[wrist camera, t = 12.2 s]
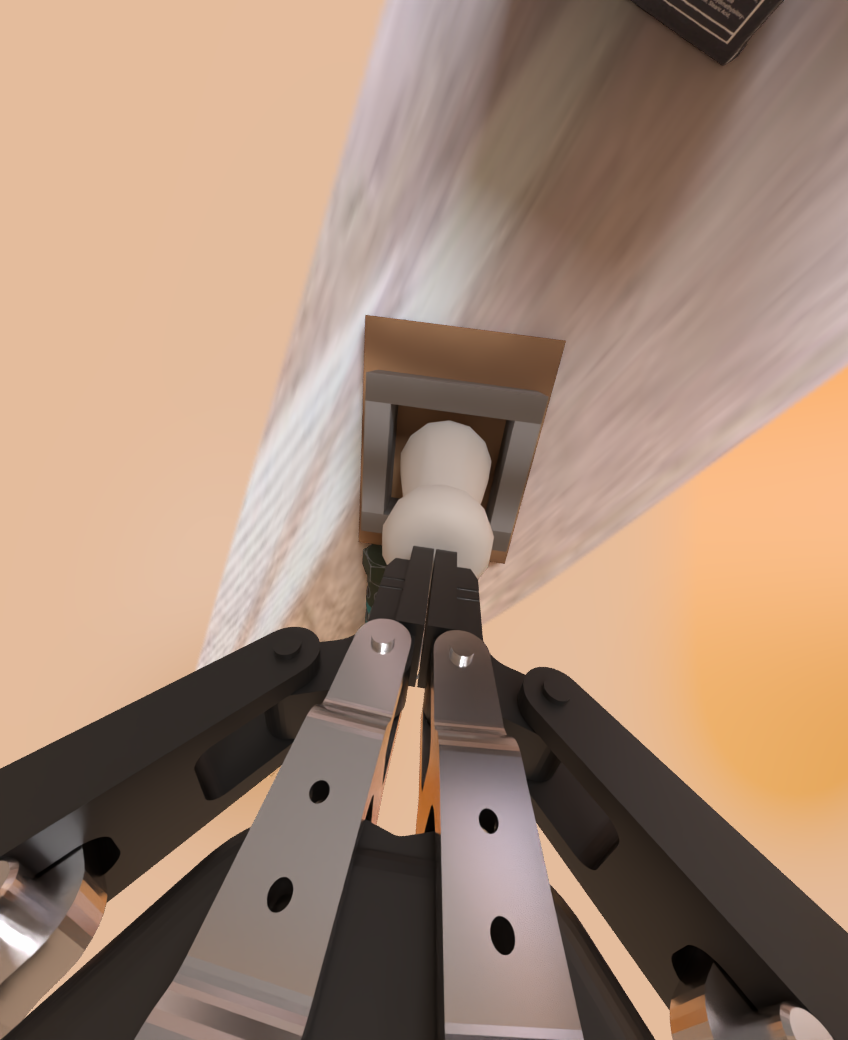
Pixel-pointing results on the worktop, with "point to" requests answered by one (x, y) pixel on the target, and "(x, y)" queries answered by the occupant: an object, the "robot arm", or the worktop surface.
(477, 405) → the socket board
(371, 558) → the stun grenade
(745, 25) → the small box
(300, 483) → the worktop surface
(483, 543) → the salt shaker
